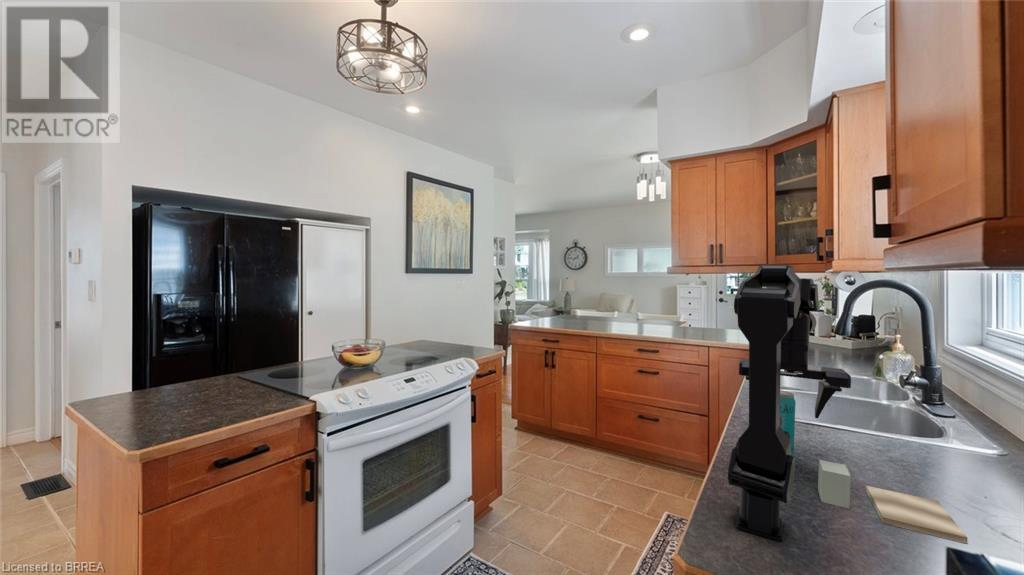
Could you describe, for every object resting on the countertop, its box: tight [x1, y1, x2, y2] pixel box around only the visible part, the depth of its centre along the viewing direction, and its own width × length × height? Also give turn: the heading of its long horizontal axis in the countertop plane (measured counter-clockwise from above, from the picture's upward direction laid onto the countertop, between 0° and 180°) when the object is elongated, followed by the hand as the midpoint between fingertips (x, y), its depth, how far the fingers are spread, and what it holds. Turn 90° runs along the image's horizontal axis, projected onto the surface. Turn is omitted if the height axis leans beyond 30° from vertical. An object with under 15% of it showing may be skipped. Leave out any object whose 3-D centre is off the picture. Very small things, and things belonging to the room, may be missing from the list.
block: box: [817, 459, 852, 509], centre depth 76 cm, size 5×4×6 cm
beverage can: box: [780, 389, 796, 456], centre depth 93 cm, size 6×6×15 cm
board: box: [865, 485, 969, 544], centre depth 71 cm, size 12×10×1 cm
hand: (788, 413), depth 84 cm, fingers open, 9 cm apart
